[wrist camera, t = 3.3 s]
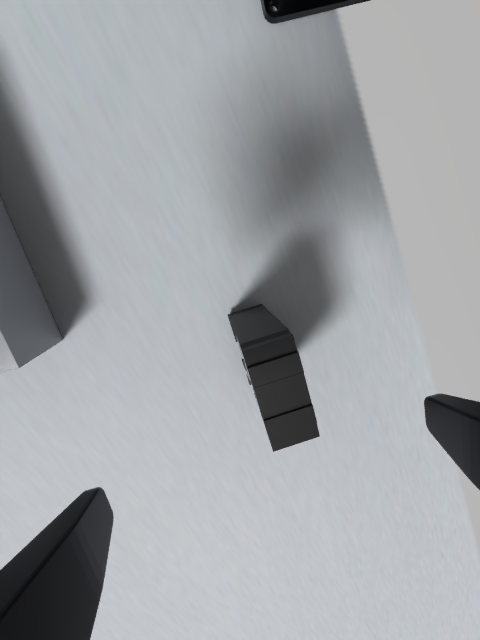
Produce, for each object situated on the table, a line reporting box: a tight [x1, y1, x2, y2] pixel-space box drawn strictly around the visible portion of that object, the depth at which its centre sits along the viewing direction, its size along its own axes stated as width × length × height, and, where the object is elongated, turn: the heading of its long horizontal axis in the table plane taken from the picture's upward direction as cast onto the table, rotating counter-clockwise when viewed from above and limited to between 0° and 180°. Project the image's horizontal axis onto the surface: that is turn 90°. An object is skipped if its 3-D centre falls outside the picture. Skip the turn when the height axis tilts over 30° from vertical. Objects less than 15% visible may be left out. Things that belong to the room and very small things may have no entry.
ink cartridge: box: [228, 304, 319, 452], centre depth 16 cm, size 5×2×8 cm, turn 16°
